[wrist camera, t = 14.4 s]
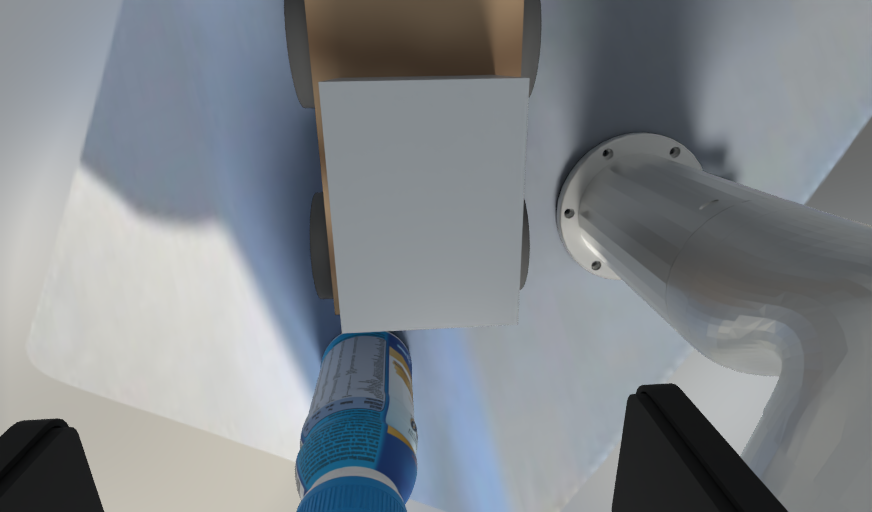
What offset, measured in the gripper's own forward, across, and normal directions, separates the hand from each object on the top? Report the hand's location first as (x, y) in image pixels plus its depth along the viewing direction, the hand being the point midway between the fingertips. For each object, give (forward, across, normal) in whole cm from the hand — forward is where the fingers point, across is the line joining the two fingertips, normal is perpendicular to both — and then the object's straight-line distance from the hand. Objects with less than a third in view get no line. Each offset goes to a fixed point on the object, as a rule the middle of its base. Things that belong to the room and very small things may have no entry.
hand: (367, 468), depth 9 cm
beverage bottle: (+34, +3, +19) cm, 39 cm away
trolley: (+33, -2, -1) cm, 33 cm away
